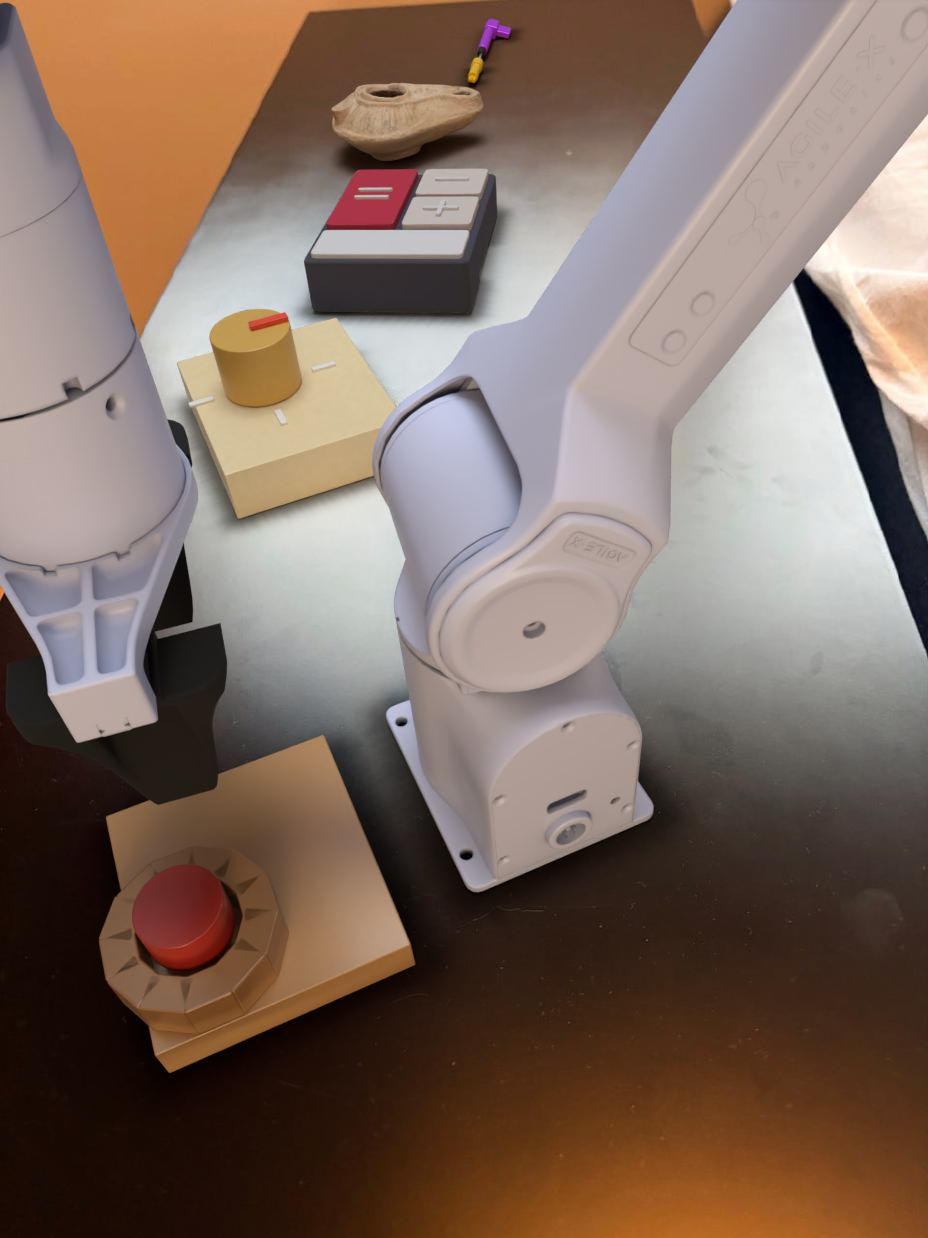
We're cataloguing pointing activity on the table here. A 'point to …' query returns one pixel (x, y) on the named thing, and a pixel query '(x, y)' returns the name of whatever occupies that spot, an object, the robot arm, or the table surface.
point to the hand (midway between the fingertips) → (174, 699)
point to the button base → (255, 904)
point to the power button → (184, 917)
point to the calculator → (404, 242)
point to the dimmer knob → (256, 357)
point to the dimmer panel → (293, 423)
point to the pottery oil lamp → (403, 116)
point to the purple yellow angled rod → (486, 46)
